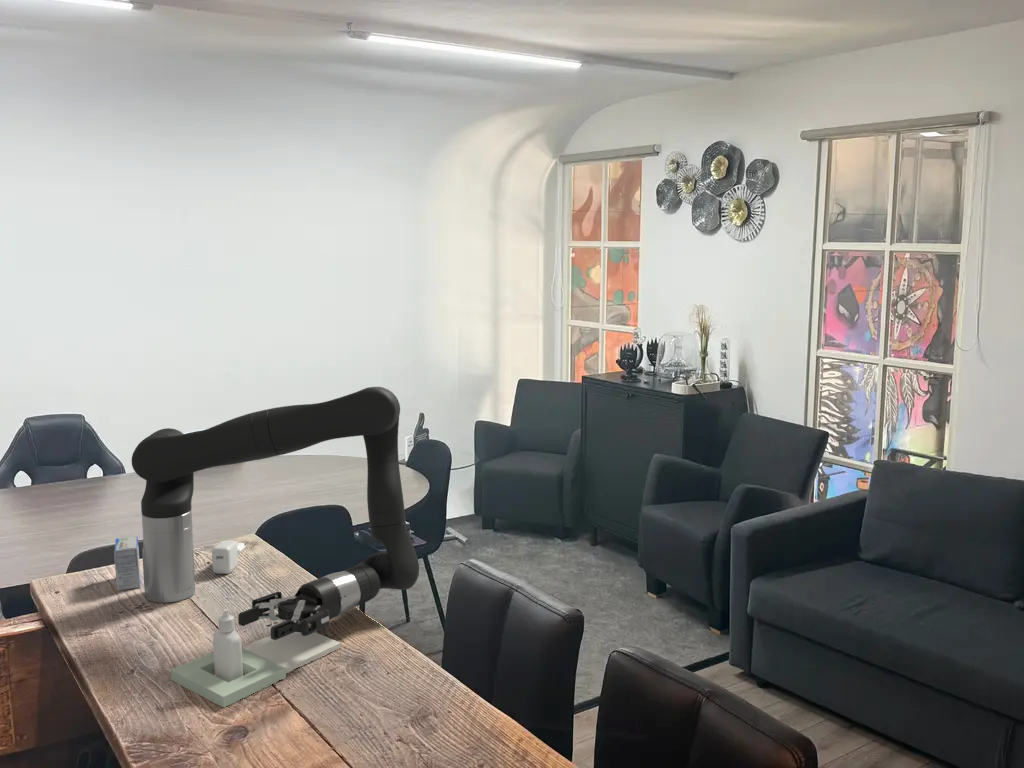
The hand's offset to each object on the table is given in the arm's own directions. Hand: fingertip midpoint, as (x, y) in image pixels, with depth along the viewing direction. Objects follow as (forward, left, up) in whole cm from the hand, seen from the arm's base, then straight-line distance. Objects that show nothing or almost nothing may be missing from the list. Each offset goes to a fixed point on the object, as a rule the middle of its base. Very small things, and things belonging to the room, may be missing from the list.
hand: (255, 627), depth 154 cm
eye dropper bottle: (0, -6, -7) cm, 9 cm away
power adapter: (-42, +25, -7) cm, 50 cm away
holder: (0, -6, -7) cm, 9 cm away
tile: (0, +7, -7) cm, 10 cm away
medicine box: (-50, +6, -7) cm, 51 cm away
